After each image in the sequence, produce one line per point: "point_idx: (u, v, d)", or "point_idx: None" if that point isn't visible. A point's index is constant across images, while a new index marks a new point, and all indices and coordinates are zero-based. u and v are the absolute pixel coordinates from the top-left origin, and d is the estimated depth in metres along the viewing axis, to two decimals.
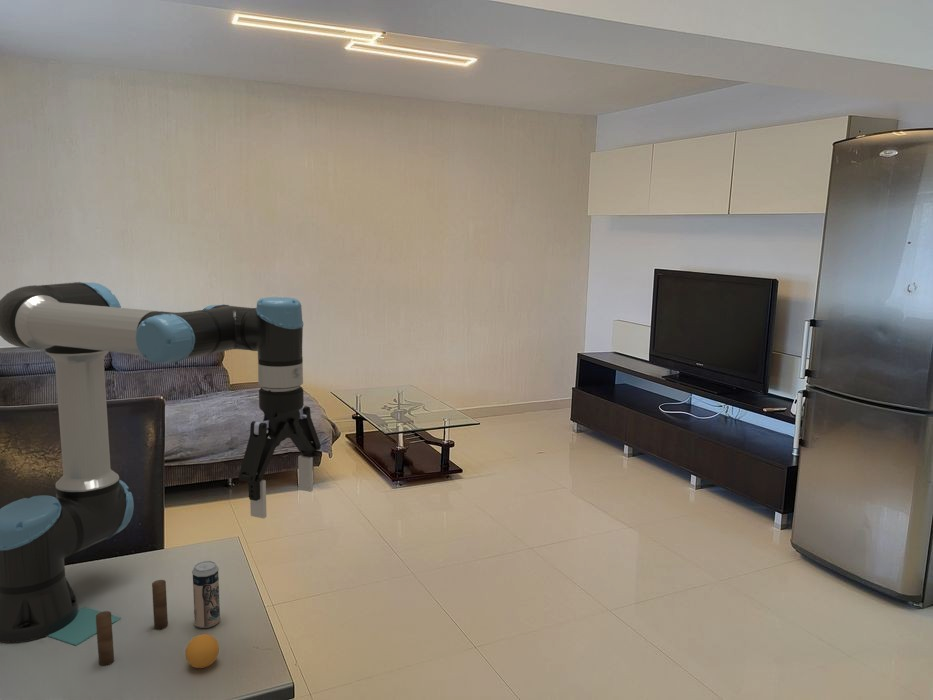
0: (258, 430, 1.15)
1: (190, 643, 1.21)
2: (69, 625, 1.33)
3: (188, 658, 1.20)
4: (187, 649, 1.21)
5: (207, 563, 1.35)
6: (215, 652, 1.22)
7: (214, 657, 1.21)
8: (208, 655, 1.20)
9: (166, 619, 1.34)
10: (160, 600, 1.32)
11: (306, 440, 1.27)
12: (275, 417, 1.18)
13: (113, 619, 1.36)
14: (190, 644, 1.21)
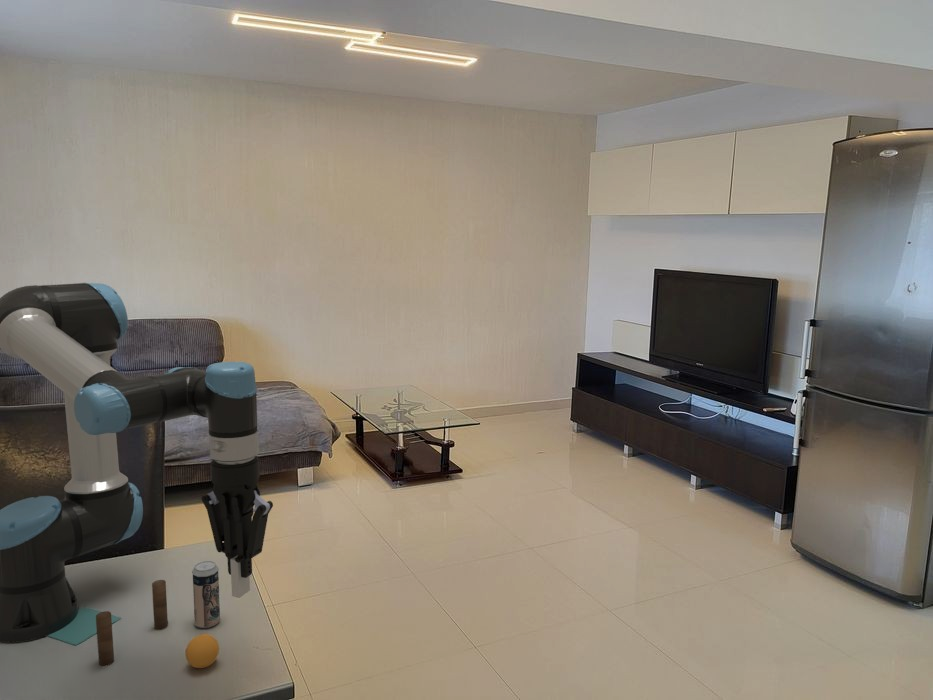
0: None
1: (190, 643, 1.21)
2: (69, 625, 1.33)
3: (188, 658, 1.20)
4: (187, 649, 1.21)
5: (207, 563, 1.35)
6: (215, 652, 1.22)
7: (214, 657, 1.21)
8: (208, 655, 1.20)
9: (166, 619, 1.34)
10: (160, 600, 1.32)
11: (240, 536, 1.13)
12: None
13: (113, 619, 1.36)
14: (190, 644, 1.21)
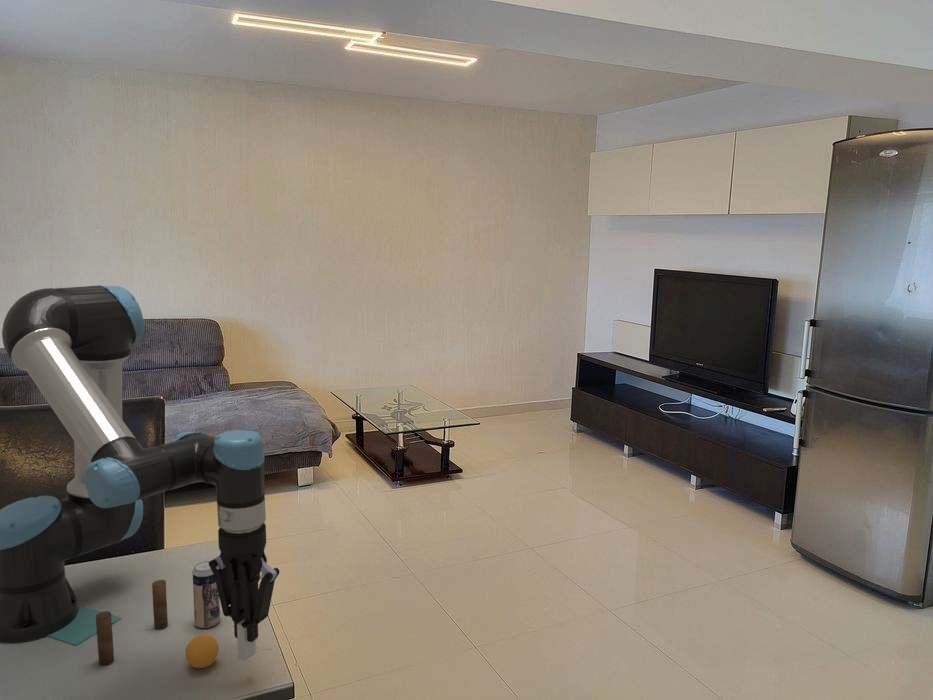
0: None
1: (190, 643, 1.21)
2: (69, 625, 1.33)
3: (188, 658, 1.20)
4: (187, 649, 1.21)
5: (207, 563, 1.35)
6: (215, 652, 1.22)
7: (214, 657, 1.21)
8: (208, 655, 1.20)
9: (166, 619, 1.34)
10: (160, 600, 1.32)
11: (247, 601, 1.15)
12: None
13: (113, 619, 1.36)
14: (190, 644, 1.21)
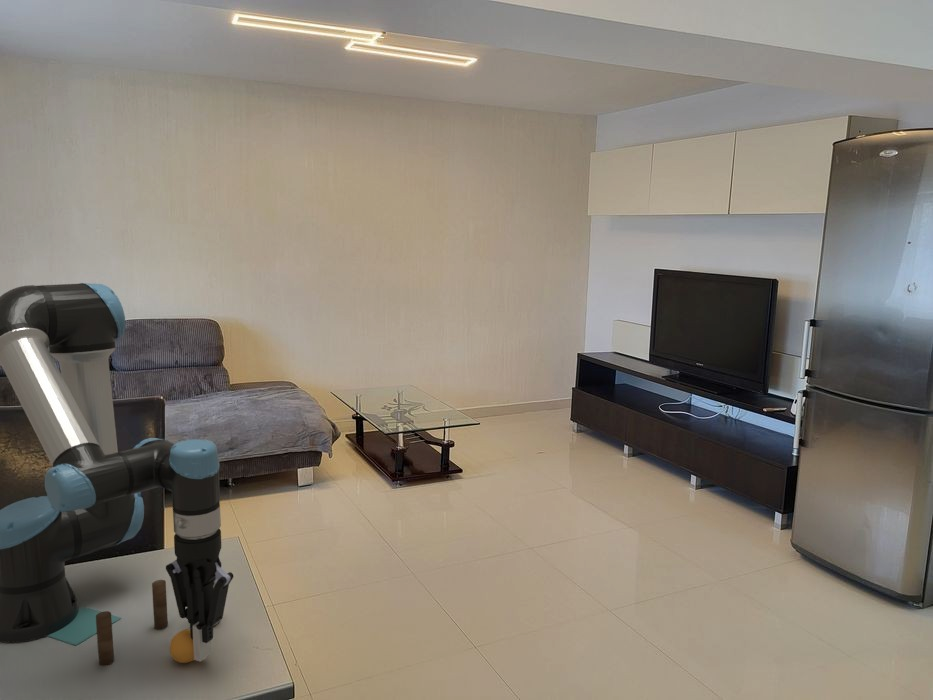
0: None
1: (170, 644, 1.23)
2: (69, 625, 1.33)
3: (173, 655, 1.21)
4: None
5: None
6: None
7: None
8: (187, 641, 1.22)
9: (166, 619, 1.34)
10: (160, 600, 1.32)
11: (202, 604, 1.19)
12: None
13: (113, 619, 1.36)
14: (170, 644, 1.23)
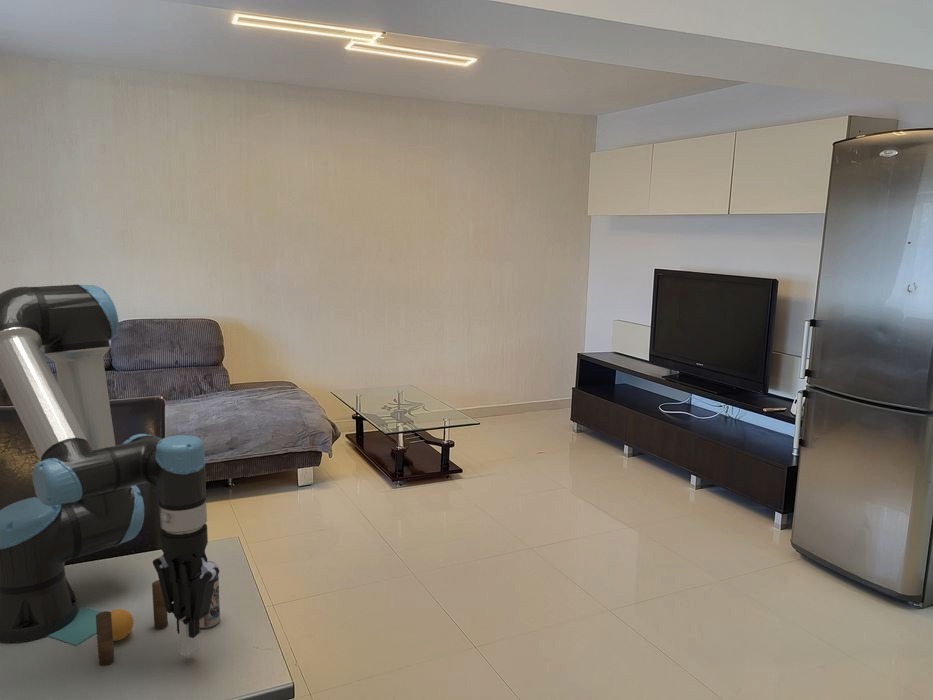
0: None
1: None
2: (69, 625, 1.33)
3: None
4: None
5: None
6: (127, 622, 1.29)
7: (127, 626, 1.28)
8: (119, 625, 1.27)
9: (166, 619, 1.34)
10: (160, 600, 1.32)
11: (188, 599, 1.20)
12: None
13: None
14: None
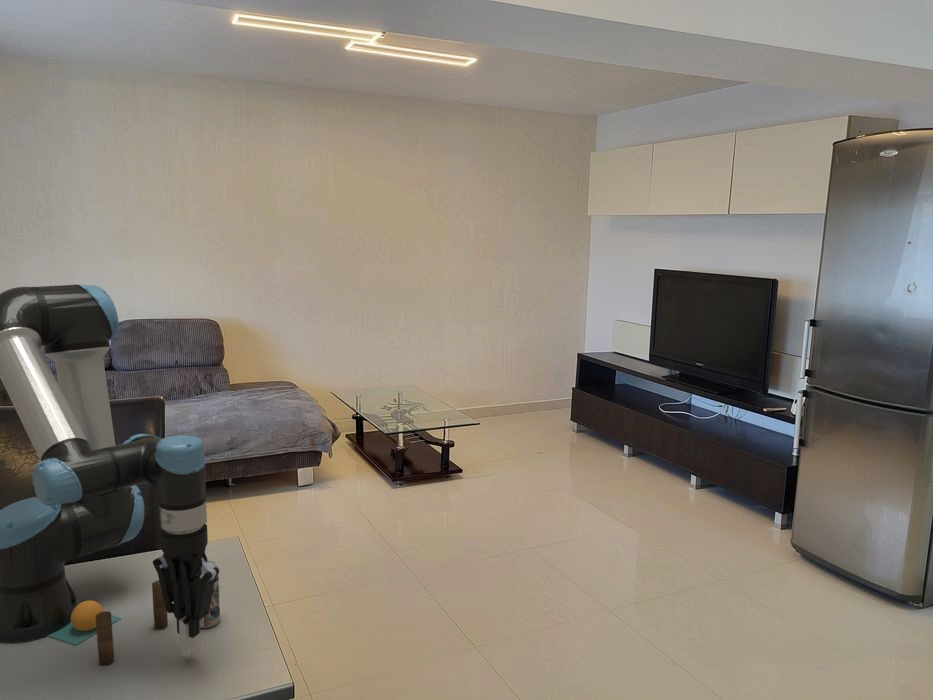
0: None
1: (85, 630, 1.31)
2: (69, 625, 1.33)
3: (77, 623, 1.30)
4: (83, 628, 1.30)
5: None
6: None
7: None
8: None
9: (166, 619, 1.34)
10: (160, 600, 1.32)
11: (188, 599, 1.20)
12: None
13: (113, 619, 1.36)
14: (83, 630, 1.31)
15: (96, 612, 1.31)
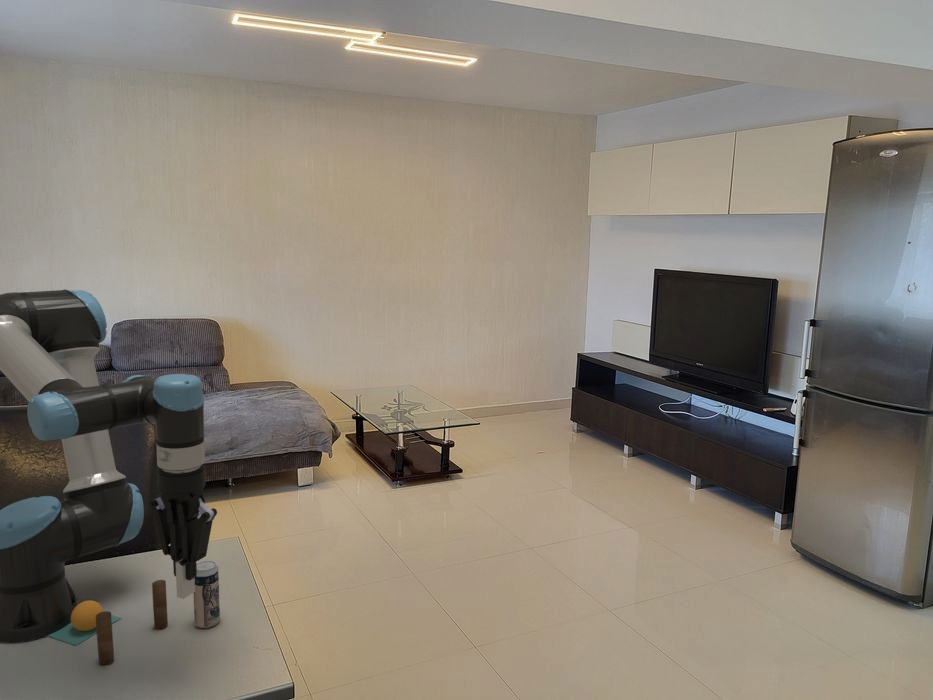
0: None
1: (85, 630, 1.31)
2: (69, 625, 1.33)
3: (77, 623, 1.30)
4: (83, 628, 1.30)
5: (207, 563, 1.35)
6: None
7: None
8: None
9: (166, 619, 1.34)
10: (160, 600, 1.32)
11: (185, 540, 1.18)
12: (160, 491, 1.19)
13: (113, 619, 1.36)
14: (83, 630, 1.31)
15: (96, 612, 1.31)
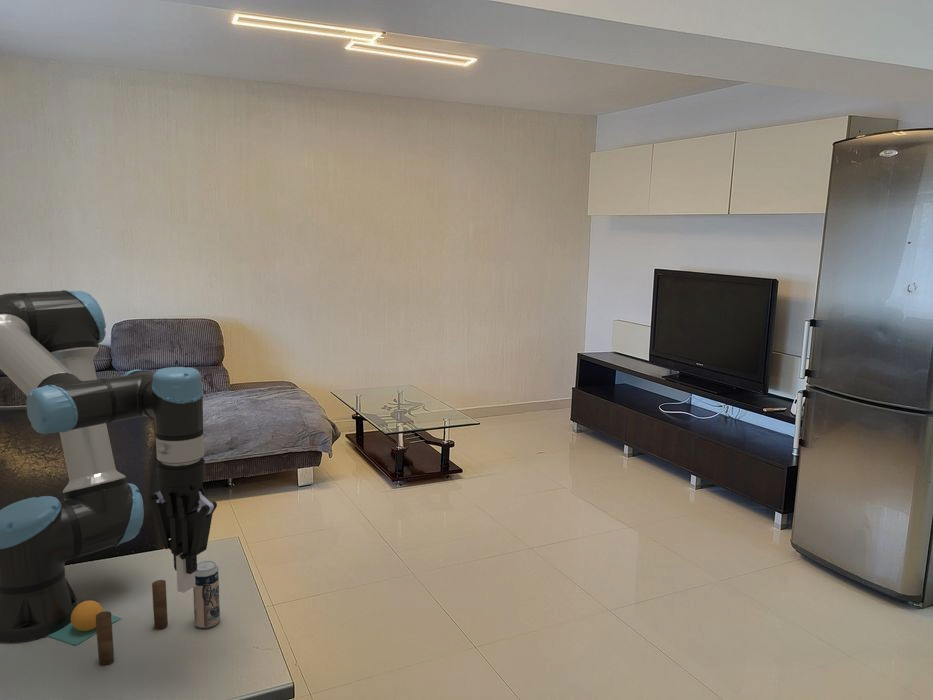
0: None
1: (85, 630, 1.31)
2: (69, 625, 1.33)
3: (77, 623, 1.30)
4: (83, 628, 1.30)
5: (207, 563, 1.35)
6: None
7: None
8: None
9: (166, 619, 1.34)
10: (160, 600, 1.32)
11: (185, 534, 1.18)
12: None
13: (113, 619, 1.36)
14: (83, 630, 1.31)
15: (96, 612, 1.31)
